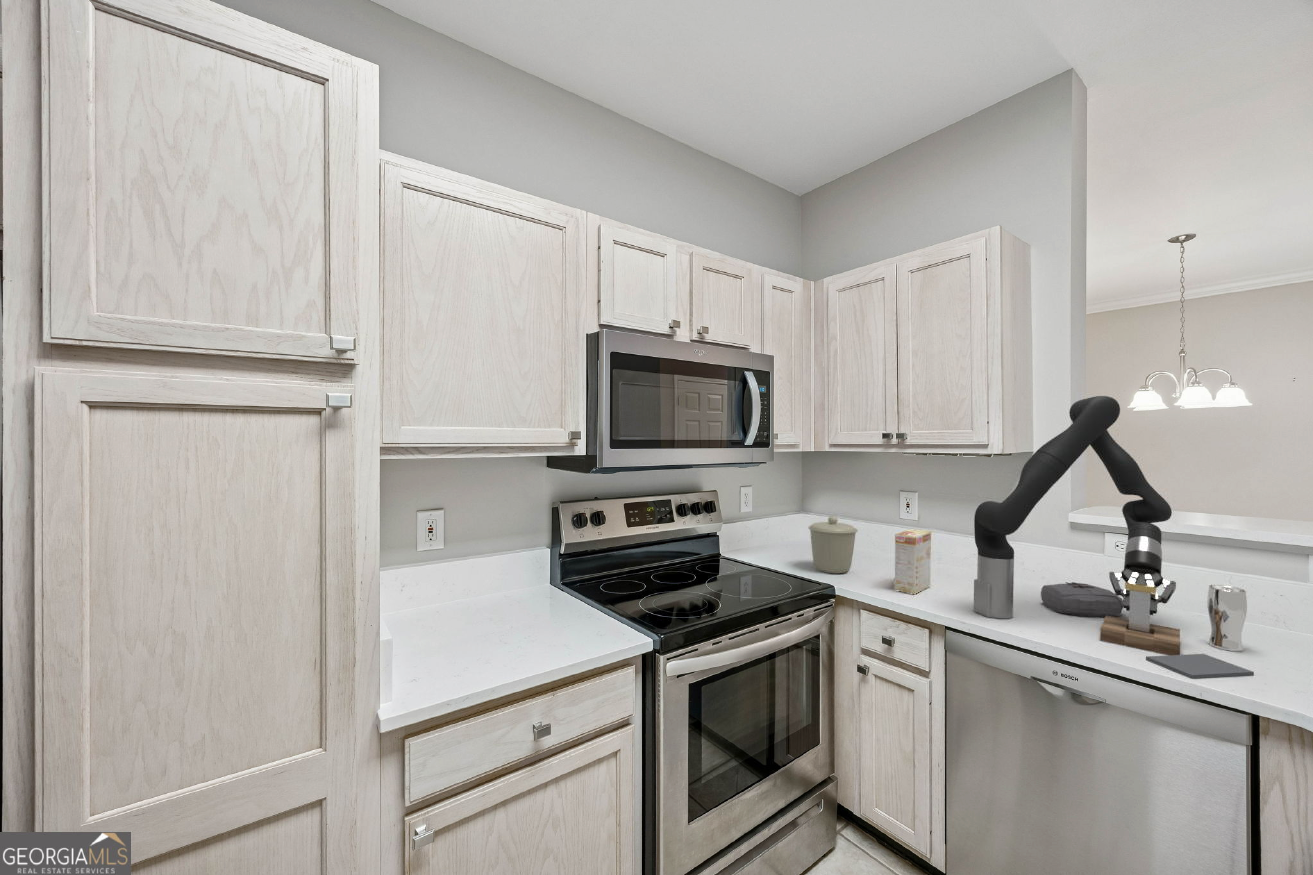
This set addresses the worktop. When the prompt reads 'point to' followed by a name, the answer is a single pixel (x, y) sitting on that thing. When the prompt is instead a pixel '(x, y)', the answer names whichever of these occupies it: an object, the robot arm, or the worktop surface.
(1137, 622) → the t key
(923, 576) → the coffeecake box
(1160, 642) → the socket block
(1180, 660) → the slate mat
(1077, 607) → the grey rounded bag
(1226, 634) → the beer glass
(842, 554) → the canister
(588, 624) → the worktop surface
